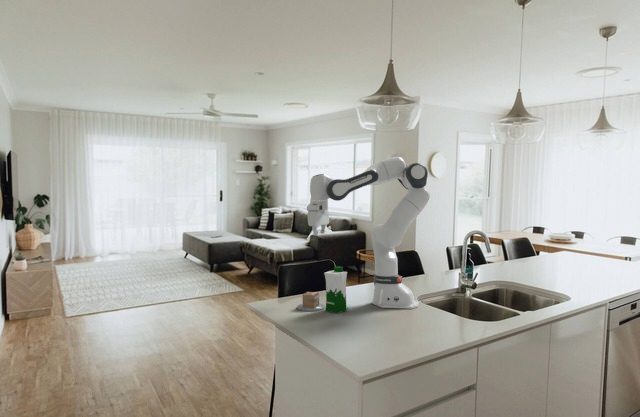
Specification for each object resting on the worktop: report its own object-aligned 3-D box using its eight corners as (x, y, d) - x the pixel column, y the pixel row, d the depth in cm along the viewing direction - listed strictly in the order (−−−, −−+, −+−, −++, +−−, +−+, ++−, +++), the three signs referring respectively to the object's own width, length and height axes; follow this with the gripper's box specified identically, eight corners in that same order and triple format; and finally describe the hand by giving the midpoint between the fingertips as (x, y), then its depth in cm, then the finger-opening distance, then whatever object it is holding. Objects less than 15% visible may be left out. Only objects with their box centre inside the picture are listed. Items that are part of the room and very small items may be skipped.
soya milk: (349, 310, 194) (349, 267, 193) (336, 314, 187) (336, 269, 187) (335, 307, 200) (334, 265, 199) (322, 311, 193) (321, 267, 193)
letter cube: (307, 304, 203) (307, 291, 203) (319, 305, 201) (319, 292, 201) (302, 307, 197) (302, 294, 197) (314, 308, 195) (314, 295, 195)
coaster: (328, 305, 203) (328, 304, 203) (318, 312, 191) (318, 310, 191) (303, 303, 208) (303, 301, 208) (292, 310, 195) (292, 308, 195)
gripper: (320, 206, 220) (321, 232, 220) (305, 207, 201) (305, 235, 201) (332, 206, 218) (332, 232, 218) (317, 207, 199) (317, 236, 199)
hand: (319, 234), depth 210 cm, fingers open, 8 cm apart
